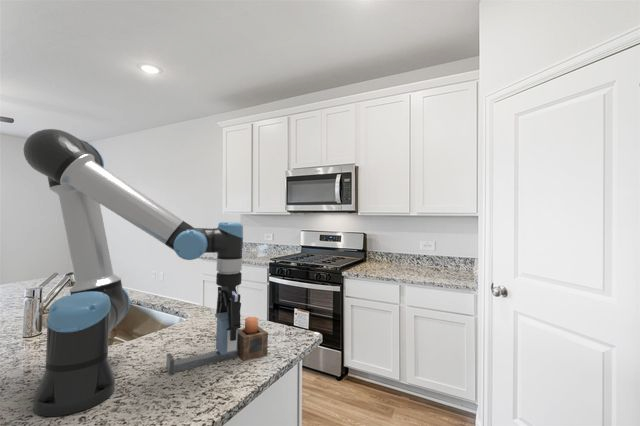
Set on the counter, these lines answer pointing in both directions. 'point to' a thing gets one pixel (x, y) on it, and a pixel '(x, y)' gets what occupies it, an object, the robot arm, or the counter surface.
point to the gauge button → (251, 325)
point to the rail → (196, 361)
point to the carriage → (222, 333)
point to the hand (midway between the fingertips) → (226, 345)
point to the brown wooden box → (252, 344)
